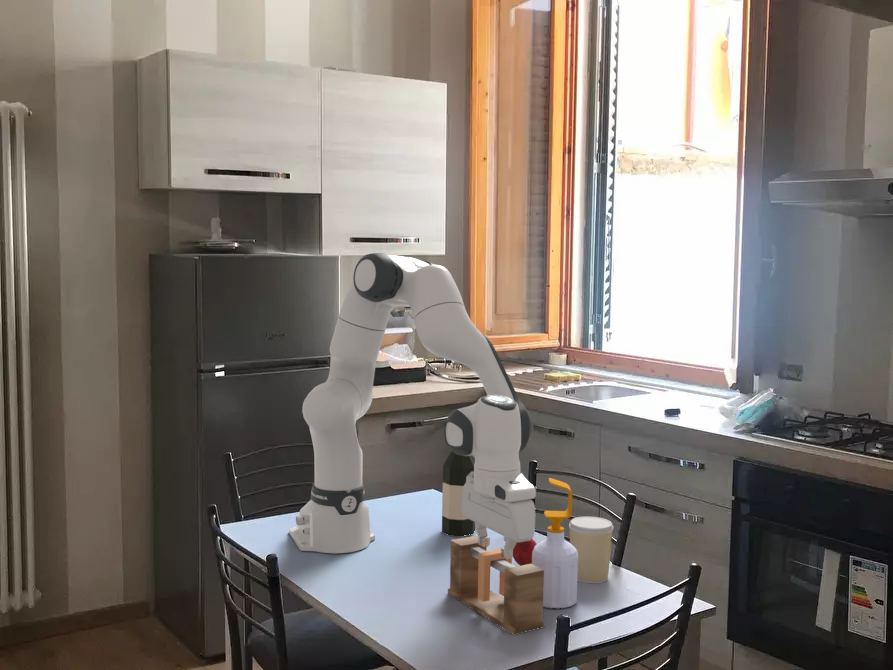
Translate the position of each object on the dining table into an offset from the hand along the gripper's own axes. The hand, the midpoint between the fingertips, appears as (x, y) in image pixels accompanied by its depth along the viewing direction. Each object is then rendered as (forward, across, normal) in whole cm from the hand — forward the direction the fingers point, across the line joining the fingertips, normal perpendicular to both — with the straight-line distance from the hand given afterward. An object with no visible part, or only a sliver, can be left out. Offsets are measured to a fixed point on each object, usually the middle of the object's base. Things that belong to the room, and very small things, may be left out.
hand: (495, 551), depth 182 cm
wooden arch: (+9, 0, 0) cm, 9 cm away
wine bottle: (+12, -45, +20) cm, 51 cm away
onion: (+12, -16, +19) cm, 27 cm away
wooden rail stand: (+12, 0, 0) cm, 12 cm away
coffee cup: (+12, -5, +28) cm, 31 cm away
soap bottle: (+12, +2, +13) cm, 18 cm away
